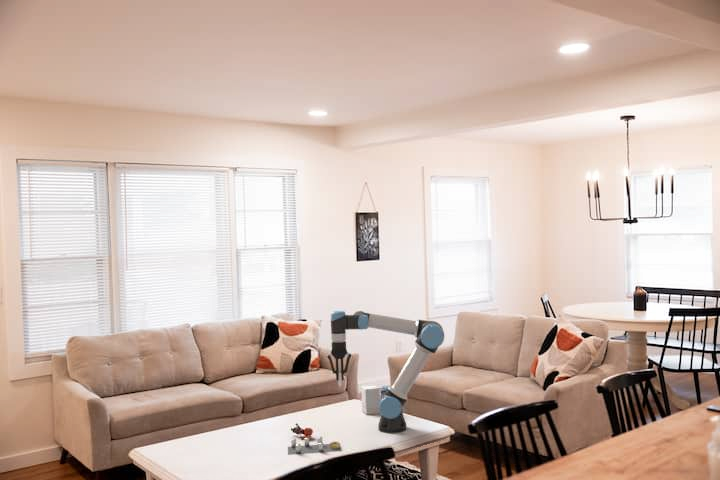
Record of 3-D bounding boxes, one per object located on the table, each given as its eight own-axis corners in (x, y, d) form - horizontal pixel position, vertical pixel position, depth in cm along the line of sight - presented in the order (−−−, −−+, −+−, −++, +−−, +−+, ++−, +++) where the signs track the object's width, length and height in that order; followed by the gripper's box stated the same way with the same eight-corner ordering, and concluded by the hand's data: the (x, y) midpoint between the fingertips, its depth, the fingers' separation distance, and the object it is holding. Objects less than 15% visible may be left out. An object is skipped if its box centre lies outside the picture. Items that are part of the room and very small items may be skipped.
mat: (339, 444, 333) (339, 443, 333) (341, 452, 321) (341, 450, 321) (287, 447, 330) (287, 446, 330) (287, 455, 318) (287, 454, 318)
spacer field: (322, 444, 332) (322, 436, 332) (323, 452, 320) (323, 443, 320) (291, 446, 330) (291, 438, 330) (291, 454, 318) (291, 445, 318)
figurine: (299, 432, 354) (320, 434, 344) (292, 445, 349) (313, 448, 339) (289, 421, 349) (310, 423, 340) (282, 433, 344) (302, 436, 335)
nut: (340, 446, 327) (339, 441, 327) (338, 449, 324) (338, 444, 324) (330, 446, 328) (330, 441, 328) (329, 449, 324) (329, 444, 324)
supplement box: (380, 413, 387) (380, 388, 387) (366, 415, 384) (365, 389, 384) (376, 409, 396) (375, 384, 395) (361, 411, 393) (360, 386, 393)
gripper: (350, 339, 349) (351, 384, 349) (325, 340, 347) (327, 385, 348) (351, 341, 341) (353, 387, 342) (326, 342, 340) (328, 388, 340)
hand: (340, 386), depth 345 cm, fingers closed
